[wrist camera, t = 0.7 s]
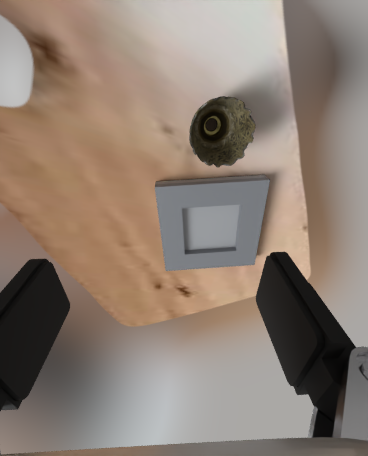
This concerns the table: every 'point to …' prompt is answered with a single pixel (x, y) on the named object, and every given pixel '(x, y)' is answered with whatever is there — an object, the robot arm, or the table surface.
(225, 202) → the display stand
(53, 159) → the table surface
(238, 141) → the cup
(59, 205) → the table surface
